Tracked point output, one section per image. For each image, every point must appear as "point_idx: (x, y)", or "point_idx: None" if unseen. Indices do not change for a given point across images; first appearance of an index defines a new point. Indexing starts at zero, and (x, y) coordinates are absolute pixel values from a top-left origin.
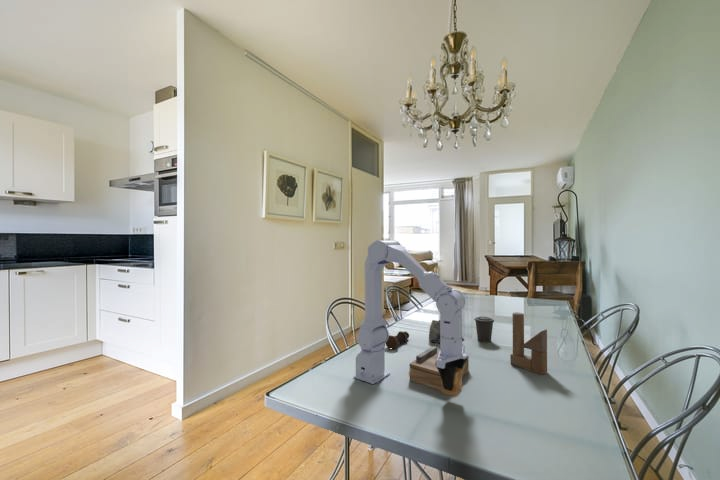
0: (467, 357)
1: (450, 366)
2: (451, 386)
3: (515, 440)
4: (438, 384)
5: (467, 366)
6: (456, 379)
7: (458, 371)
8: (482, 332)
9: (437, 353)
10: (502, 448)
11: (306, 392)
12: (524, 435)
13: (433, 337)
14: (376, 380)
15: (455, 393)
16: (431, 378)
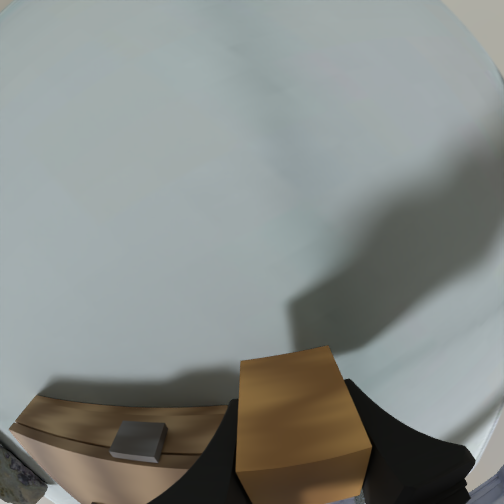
0: (16, 429)
1: (443, 489)
2: (362, 393)
3: (360, 30)
4: None
5: (32, 408)
6: (345, 415)
7: (310, 462)
8: None
9: (100, 502)
10: (430, 60)
11: None
12: (301, 14)
13: (37, 486)
14: (337, 501)
15: (333, 357)
16: None
